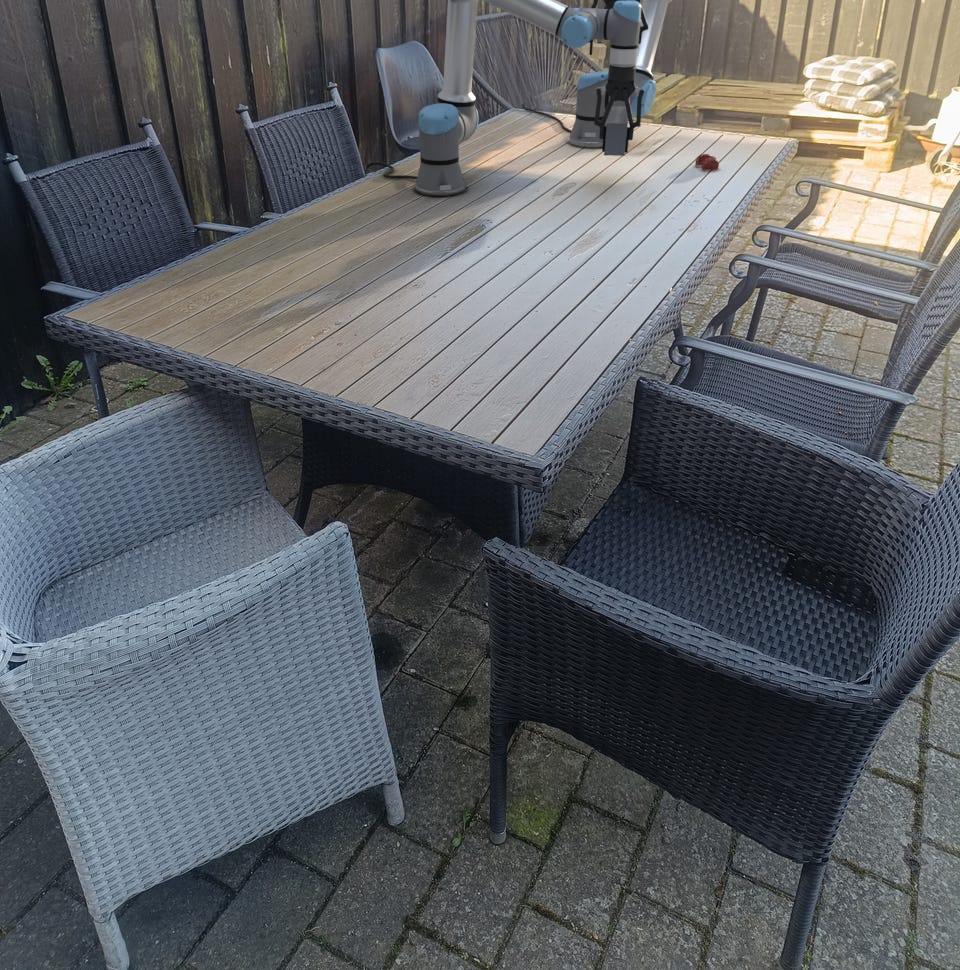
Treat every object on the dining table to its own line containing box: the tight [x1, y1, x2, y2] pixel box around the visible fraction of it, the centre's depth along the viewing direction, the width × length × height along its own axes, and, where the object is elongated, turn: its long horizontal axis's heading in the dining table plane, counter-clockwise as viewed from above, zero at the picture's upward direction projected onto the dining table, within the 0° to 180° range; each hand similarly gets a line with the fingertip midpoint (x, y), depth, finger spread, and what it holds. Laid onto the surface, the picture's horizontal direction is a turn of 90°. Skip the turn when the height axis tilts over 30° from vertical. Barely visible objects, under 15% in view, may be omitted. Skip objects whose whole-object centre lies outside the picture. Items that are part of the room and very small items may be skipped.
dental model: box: [694, 153, 720, 171], centre depth 277 cm, size 6×4×8 cm
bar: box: [603, 106, 629, 157], centre depth 253 cm, size 23×6×9 cm, turn 171°
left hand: (614, 150), depth 248 cm, fingers closed on bar, 6 cm apart
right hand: (612, 55), depth 263 cm, fingers open, 13 cm apart
